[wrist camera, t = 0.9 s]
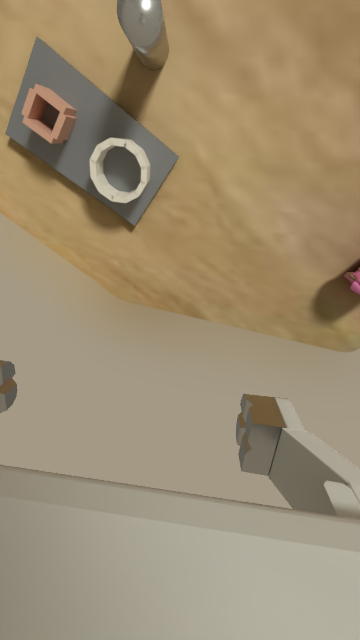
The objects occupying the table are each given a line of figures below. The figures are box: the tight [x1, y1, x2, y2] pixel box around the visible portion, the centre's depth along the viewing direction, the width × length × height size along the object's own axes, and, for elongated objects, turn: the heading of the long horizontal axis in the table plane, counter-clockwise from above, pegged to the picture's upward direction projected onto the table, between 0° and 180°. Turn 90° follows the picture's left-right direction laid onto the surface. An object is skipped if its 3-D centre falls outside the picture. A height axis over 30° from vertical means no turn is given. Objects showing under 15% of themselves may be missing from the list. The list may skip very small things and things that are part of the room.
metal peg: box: [117, 0, 169, 70], centre depth 30 cm, size 4×4×12 cm
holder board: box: [5, 37, 179, 226], centre depth 38 cm, size 21×12×6 cm, turn 54°
